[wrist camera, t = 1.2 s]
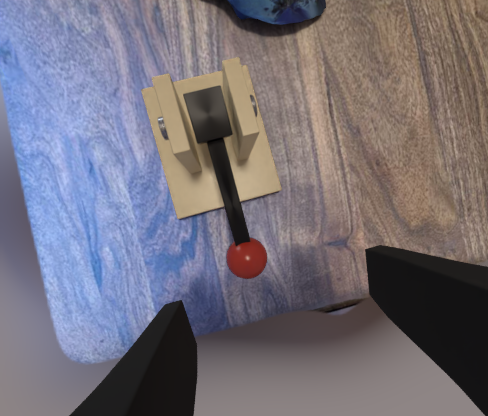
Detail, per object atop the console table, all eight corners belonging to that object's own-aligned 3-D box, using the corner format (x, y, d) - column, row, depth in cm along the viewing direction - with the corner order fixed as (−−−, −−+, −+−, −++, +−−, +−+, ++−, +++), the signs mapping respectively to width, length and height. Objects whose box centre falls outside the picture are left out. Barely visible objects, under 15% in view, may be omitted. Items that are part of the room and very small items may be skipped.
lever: (265, 260, 20) (275, 279, 17) (230, 271, 19) (234, 292, 16) (224, 94, 16) (227, 81, 13) (181, 104, 16) (175, 94, 13)
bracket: (279, 191, 21) (309, 179, 14) (180, 218, 21) (153, 222, 13) (245, 72, 21) (257, -8, 14) (145, 96, 21) (97, 26, 13)
